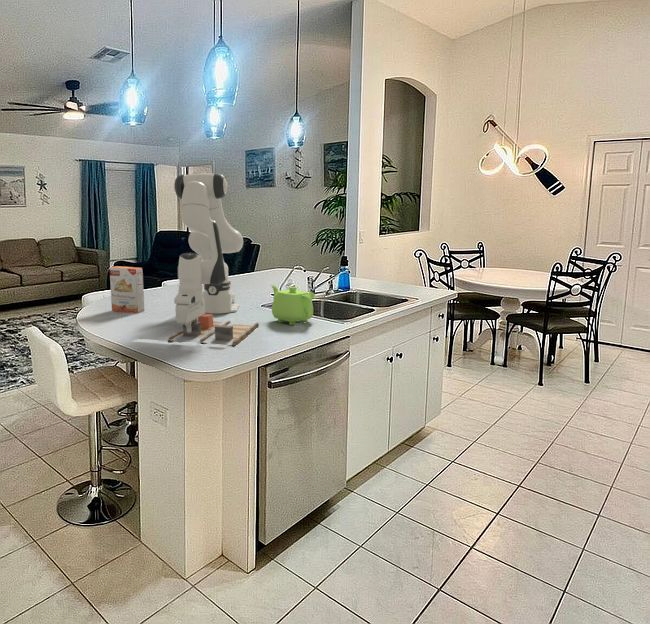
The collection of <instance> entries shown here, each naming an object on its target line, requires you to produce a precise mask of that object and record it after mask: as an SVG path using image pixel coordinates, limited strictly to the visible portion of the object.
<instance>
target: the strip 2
mask: <svg viewBox="0 0 650 624" xmlns="http://www.w3.org/2000/svg"><path fill="white" fill-rule="evenodd" d="M251 326H252V324H251V325H248V324H246V325H245V324H232V325H226V326H224V325H223V324H219V325H217V326H216V327H214V330H215V334H214V338H213V339H212V341H218V342H219V341H220V342H222V341H223V342H233V341H234V340H235V339H236V338H238V337H239V336H240V335H241V334H243V333H244V332H245V331H246V330H248V329H249V328H250V327H251Z"/></svg>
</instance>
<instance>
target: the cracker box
mask: <svg viewBox="0 0 650 624" xmlns="http://www.w3.org/2000/svg"><path fill="white" fill-rule="evenodd" d="M109 281H110V284H109V285H110V301H111V302H110V304H111V311H112V312H113V311H114V312H122V313H123V312H124V313H132V312H133V313H132V314H139V313H142V312H144V311H145V295H144V294H145V293H144V292H145V291H144V273H143V267H134V266H118V265H116V266H111V267H109Z"/></svg>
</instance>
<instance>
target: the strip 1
mask: <svg viewBox="0 0 650 624" xmlns="http://www.w3.org/2000/svg"><path fill="white" fill-rule="evenodd" d="M222 323H223V321H213V326H212V327H211V328H209V329H207V328H201V322H192V324H191V327H192V328H193V329H192V330H193V331H192V332H191V333H188V332H187V328H186V325H183V324H182V329H183V333H181V334H180V337H193V338H201V337H203V336H204V335H206V334H208V333H209V332H210V331H212V330H213V329H215V327H216V326H217V325H222Z"/></svg>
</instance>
